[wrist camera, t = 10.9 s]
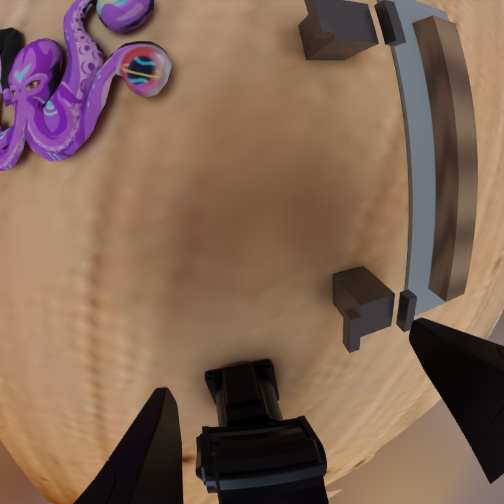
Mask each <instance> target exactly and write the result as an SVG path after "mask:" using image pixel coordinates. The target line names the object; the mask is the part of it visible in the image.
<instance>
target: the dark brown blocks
mask: <svg viewBox="0 0 504 504" xmlns="http://www.w3.org/2000/svg"><path fill="white" fill-rule="evenodd" d="M332 275H333V304H334V305H335V307H336V308H337V309H338V311H339V312H340V314H341V315H342V316H343V344H344V345H345V347H346V349H347V350H348V352H349V353H351V352H353V351H356V350H359V347H360V337H362V336H365V335H367V334H370V333H373V332H376V331H378V330H381V329H384V328H387V327H389V326H391V323H392V315H393V307H394V298H395V293H393V292H392V291H391V290H390V289H389V288H388V287H387V286H386V285H385V284H383V283H382V282H381V281H380V280H379V279H378V278H377V277H375V276H374V275H373V274H372V273H371V272H370V271H369V270H367V269H366V268H365V267H364V266H362V267H358V268H355V269H351V270H347V271H344V272H340V273H336V274H332ZM416 303H417V296H416V295H415V294H414V293H412V292H411V291H410V290H409V289H407V290H405V291H402V292H400V299H399V307H398V314H397V321H396V324H397V325H398V326H399V327H400V328H401V330H402V331H403V332H406V331H408V330H410V329H411V324H412V322H413V321H414V315H415V309H416Z"/></svg>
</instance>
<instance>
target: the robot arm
mask: <svg viewBox="0 0 504 504" xmlns="http://www.w3.org/2000/svg"><path fill="white" fill-rule="evenodd" d="M409 342H410V344H411V346H412V348H413V350H414V351H415V353H416V355H417V357H418V359H419V361H420V363H421V365H422V367H423V369H424V370H425V372H426V374H427V375H428V377H429V379H430V380H431V382H432V383H433V385H434V386H435V388H436V389H437V391H438V393H439V394H440V396H441V397H442V399H443V400H444V402H445V404H446V405H447V407H448V408H449V410H450V412H451V413H452V415H453V417H454V418H455V420H456V422H457V423H458V425H459V427H460V429H461V430H462V432H463V434H464V436H465V437H466V439H467V441H468V443H469V444H470V446H471V447H472V450H473V452H474V454H475V456H476V458H477V459H478V461H479V463H480V465H481V466H482V469H483V471H484V473H485V475H486V477H487V479H488V481H489V482H490V484H491V483H493V482H494V481H495V480H496V479H498V478H499V477H500V476H501V475H502V474H503V473H504V346H502V345H499V344H495V343H493V342H490V341H488V340H485V339H482V338H479V337H476V336H473V335H470V334H468V333H465V332H462V331H459V330H456V329H453V328H450V327H448V326H445V325H442V324H439V323H436V322H433V321H431V320H428V319H425V318H418V319H416V320H414V321H413V322H412V324H411V329H410V334H409ZM267 364H269V365H267ZM209 376H211V377H209ZM205 381H206V383H207V385H208V388H209V390H210V392H211V395H212V397H213V399H214V401H215V404H216V406H217V415H218V425H219V427H209V426H202V434H200V436H198V437H197V438H196V442H197V458H196V476H197V477H198V478H200V479H201V480H202V481H203V482H204V485H206V487H207V491H208V493H218V499H219V504H328V503H329V502H328V498H327V494H326V489H325V485H324V478H323V477H324V476H325V474H326V470H327V460H326V454H325V451H324V448H323V445H322V443H321V442H320V440H319V438H318V437H317V435H316V434H315V432H314V431H313V429H312V427H311V426H310V424H309V423H308V421H307V420H306V418H305V416H300V417H298V418H293V419H287V420H283V418H282V414H281V411H280V408H279V404H278V400H279V395H278V389H277V384H276V378H275V373H274V367H273V363H272V361H271V360H269V359H268V360H263V361H258V362H254V363H250V364H245V365H240V366H236V367H231V368H226V369H221V370H215V371H210V372H206V373H205ZM108 460H109V461H106V463H105V464H104V466H103V467H102V469H101V470H100V472H99V473H98V474H97V476H96V477H95V479H94V480H93V481H92V482H91V483H90V485H89V486H88V487H87V488H86V490H85V491H84V492H83V493H82V494H81V495H80V496H79V498H78V499H77V500H76V501H75V502H74V503H73V504H183V479H182V441H181V433H180V425H179V416H178V407H177V403H176V400H175V399H174V397H173V395H172V394H171V392H170V390H169V389H168V388H167V387H162V388H156V389H155V390H154V392H153V393H152V395H151V396H150V398H149V399H148V401H147V402H146V404H145V405H144V407H143V408H142V410H141V411H140V412H139V414H138V415H137V417H136V418H135V420H134V421H133V423H132V424H131V426H130V427H129V429H128V430H127V432H126V433H125V435H124V436H123V438H122V439H121V441H120V442H119V444H118V445H117V447H116V448H115V450H114V451H113V453H112V454H111V456H110V457H109V459H108Z"/></svg>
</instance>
